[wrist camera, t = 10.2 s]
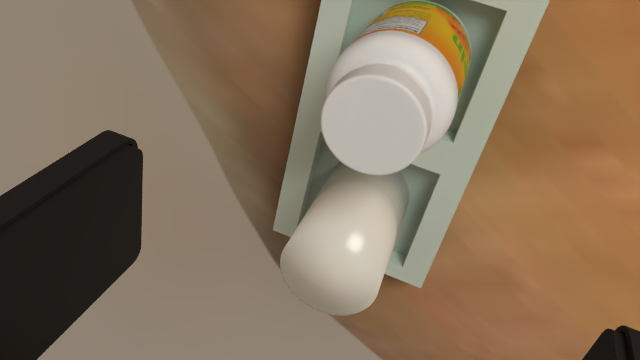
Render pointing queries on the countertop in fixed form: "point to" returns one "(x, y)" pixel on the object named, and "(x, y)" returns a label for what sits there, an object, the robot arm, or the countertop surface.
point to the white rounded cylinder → (345, 241)
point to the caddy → (440, 160)
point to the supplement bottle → (396, 87)
